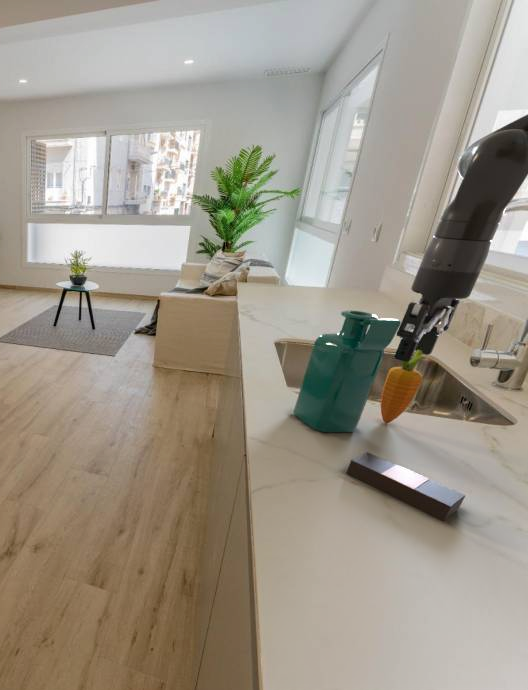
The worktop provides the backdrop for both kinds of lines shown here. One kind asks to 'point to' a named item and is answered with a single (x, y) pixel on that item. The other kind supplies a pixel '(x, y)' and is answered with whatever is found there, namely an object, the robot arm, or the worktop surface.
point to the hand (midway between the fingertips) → (412, 356)
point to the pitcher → (343, 372)
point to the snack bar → (406, 485)
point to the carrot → (400, 388)
